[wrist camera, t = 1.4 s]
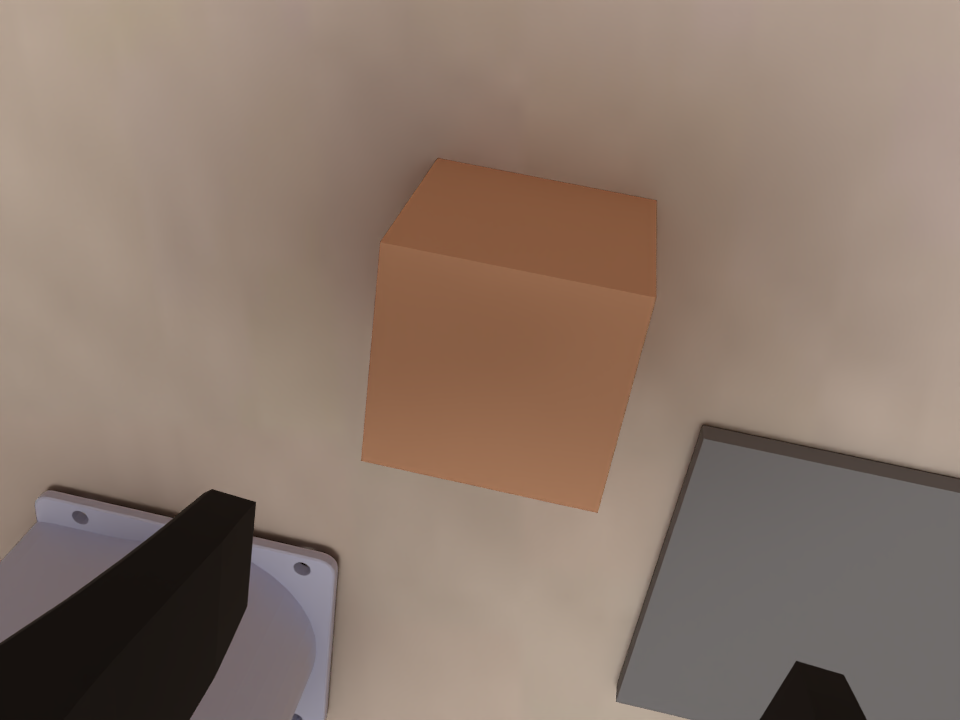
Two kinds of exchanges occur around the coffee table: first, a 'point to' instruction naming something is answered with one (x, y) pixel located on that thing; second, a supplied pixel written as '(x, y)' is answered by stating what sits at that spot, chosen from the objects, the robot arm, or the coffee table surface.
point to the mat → (801, 584)
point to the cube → (509, 332)
